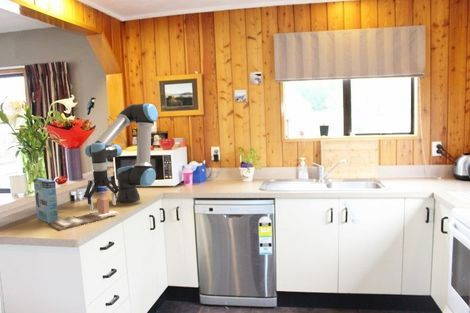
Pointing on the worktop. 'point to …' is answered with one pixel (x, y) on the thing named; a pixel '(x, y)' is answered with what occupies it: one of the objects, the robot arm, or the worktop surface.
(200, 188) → the worktop surface
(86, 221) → the board
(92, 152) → the robot arm
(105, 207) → the pink block on base
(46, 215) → the blue cereal box
